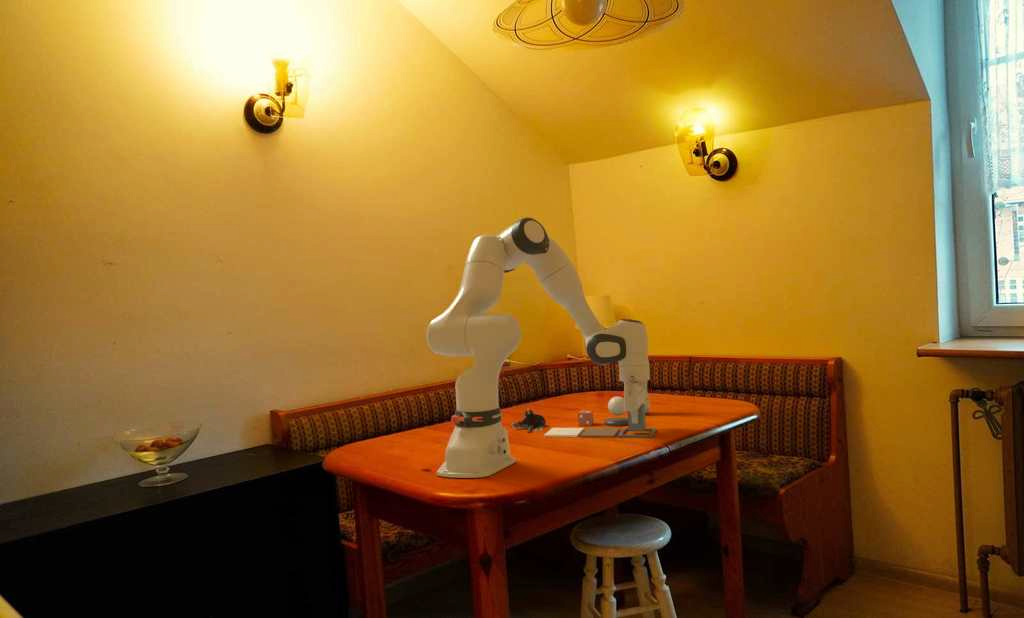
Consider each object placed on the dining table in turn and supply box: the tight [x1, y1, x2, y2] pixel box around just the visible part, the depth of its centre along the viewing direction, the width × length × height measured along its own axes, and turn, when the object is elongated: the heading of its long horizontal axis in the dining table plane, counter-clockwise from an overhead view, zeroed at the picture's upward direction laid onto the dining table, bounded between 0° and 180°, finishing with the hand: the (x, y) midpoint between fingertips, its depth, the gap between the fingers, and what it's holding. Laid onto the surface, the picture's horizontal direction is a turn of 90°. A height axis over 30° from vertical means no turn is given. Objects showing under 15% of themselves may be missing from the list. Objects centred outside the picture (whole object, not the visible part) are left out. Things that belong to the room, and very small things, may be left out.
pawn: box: [627, 404, 647, 432], centre depth 209 cm, size 4×4×10 cm
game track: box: [543, 427, 657, 439], centre depth 213 cm, size 10×32×1 cm, turn 72°
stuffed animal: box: [511, 408, 547, 434], centre depth 228 cm, size 12×10×12 cm
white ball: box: [607, 396, 627, 417], centre depth 226 cm, size 6×6×6 cm
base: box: [603, 416, 628, 427], centre depth 226 cm, size 9×9×1 cm
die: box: [577, 410, 595, 427], centre depth 227 cm, size 4×4×4 cm
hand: (636, 421), depth 209 cm, fingers closed on pawn, 4 cm apart
